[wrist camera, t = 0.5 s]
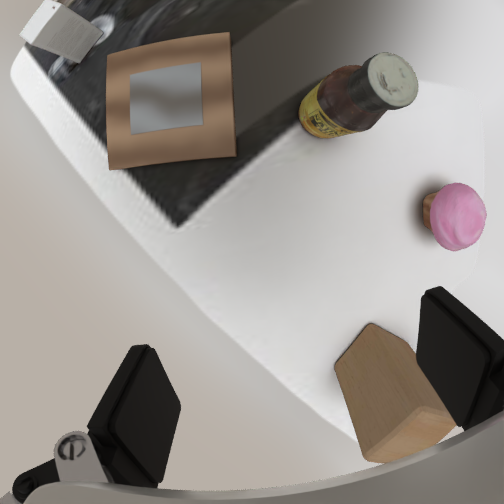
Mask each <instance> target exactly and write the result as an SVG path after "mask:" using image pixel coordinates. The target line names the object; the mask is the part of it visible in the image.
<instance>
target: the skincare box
mask: <svg viewBox="0 0 504 504" xmlns="http://www.w3.org/2000/svg"><path fill="white" fill-rule="evenodd" d="M102 34H103V31H101V30H100V29H98V28H97V27H96V26H94V25H93V24H91V23H90V22H88V21H87V20H85V19H84V18H82V17H81V16H79V15H78V14H76V13H75V12H73V11H72V10H70V9H69V8H67V7H66V6H64V5H63V4H61V3H58V2H56V1H54V0H44V2H43V3H42V4H41V6H40V7H39V8H38V10H37V11H36V12H35V14H34V15H33V16H32V18H31V19H30V20H29V22H28V23H27V25H26V26H25V27H24V29H23V30H22V32H21V33H20V35H19V36H20V37H22V38H23V39H24V40H26V41H27V42H28V43H30V44H31V45H33V46H36V47H39V48H42V49H45V50H47V51H50V52H52V53H55V54H57V55H60V56H62V57H64V58H67V59H69V60H72V61H74V62H76V63H80V62H81V61H82V59H83V58H84V57H85V55H86V54H87V53H88V51H89V50H90V49H91V48H92V46H93V45H94V44H95V43H96V41H97V40H98V39H99V38H100V36H101V35H102Z"/></svg>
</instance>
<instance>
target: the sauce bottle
mask: <svg viewBox="0 0 504 504" xmlns="http://www.w3.org/2000/svg"><path fill="white" fill-rule="evenodd" d="M417 92H418V80H417V77H416V74H415V72H414V71H413V69H412V67H411V66H410V65H409V64H408V63H407V62H406V61H405V60H404V59H403V58H401V57H400V56H398V55H395V54H391V53H388V52H384V53H379V54H376V55H374V56H373V57H372V58H369V59H368V60H367V61H365V63H364V64H363V66H359V65H349V66H344V67H341V68H339V69H337V70H335V71H333V72H332V73H331V74H329V75H328V76H326V77H325V78H324V79H323V80H322V81H321V82H320V83H319V84H318V85H317V86H316V87H315V88H314V89H312V90H311V91H310V92H309V93H308V94H307V95H306V96H305V98H304V99H303V100H302V102H301V105H300V107H299V111H298V116H299V120H300V122H301V124H302V126H303V128H304V129H305V130H306V131H308V132H309V133H311V134H312V135H314V136H317V137H320V138H333V137H338V136H342V135H347V134H352V133H356V132H362V131H365V130H368V129H370V128H371V127H372V126H373V125H374V124H375V123H376V122H377V121H378V120H379V119H380V118H381V116H382V115H383V114H384V113H385V112H386V111H387V110H396V109H400V108H403V107H406V106H408V105H410V104H411V103H412V102H413V101H414V99H415V98H416V96H417Z"/></svg>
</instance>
